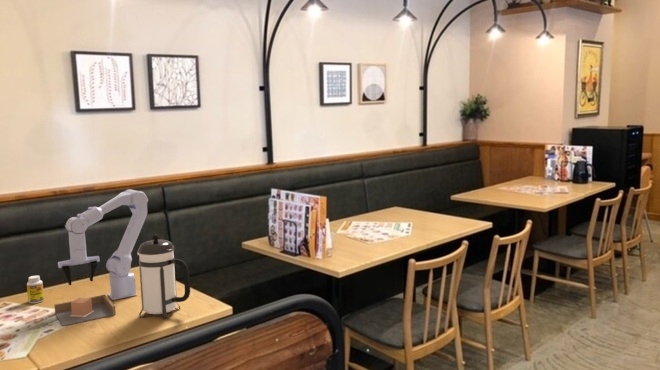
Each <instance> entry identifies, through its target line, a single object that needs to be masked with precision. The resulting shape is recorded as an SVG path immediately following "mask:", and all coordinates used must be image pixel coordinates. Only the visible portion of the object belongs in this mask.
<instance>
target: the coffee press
mask: <svg viewBox="0 0 660 370" xmlns="http://www.w3.org/2000/svg"><path fill="white" fill-rule="evenodd" d="M151 238H152V239H151V240H147V241H144V242H143V243H141V244H140V245H139V246H138V247H139V248H138V249H137V256H139V258H138V263H139V280H140V295H141V297H140V298H141V310H140V312H139V313H138V315H139V317H140V318H144V317H145V315H147V314H148V315H162V316H161V318H162V320H166V319H168V313H169V312H172V311H173V310H174V309H175V310H177V308H176V307H177V306H178V308H179V310H180V309H181V306H180V305H179V304H178V303H182V302H185V301H186V300H188V299H189V297H190V295H191V282H190V281H191V278H190V270H189V266H188V265H187V262H186V261H184V260H182V259H179V258H175V254H174V252H175V245H173V243H172V242H171V241H169V240H166V239H159V238H160V236H159V235H158V234H156V233H155V234H153V235H152V237H151ZM176 265H179V266H180V267H181V268H182V271H183V278H184V279H183V280H184V281H183V284H184V295H182V296H177V285H176V279H177V278H176V268H175V267H176ZM143 311H144V313H143ZM142 313H143V314H142Z"/></svg>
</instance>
